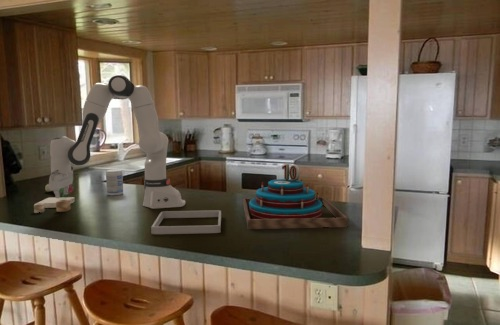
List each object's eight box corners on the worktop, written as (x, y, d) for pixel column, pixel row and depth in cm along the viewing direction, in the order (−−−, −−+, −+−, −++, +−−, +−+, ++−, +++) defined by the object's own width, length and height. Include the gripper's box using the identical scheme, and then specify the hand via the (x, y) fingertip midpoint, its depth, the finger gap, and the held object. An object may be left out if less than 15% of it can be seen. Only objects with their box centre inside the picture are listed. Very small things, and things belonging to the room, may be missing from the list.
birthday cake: (234, 214, 191) (234, 164, 188) (284, 203, 214) (284, 158, 211) (286, 230, 165) (286, 172, 162) (337, 215, 188) (338, 165, 185)
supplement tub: (121, 195, 235) (120, 171, 233) (105, 196, 233) (104, 171, 232) (124, 192, 244) (123, 169, 242) (108, 192, 243) (107, 169, 241)
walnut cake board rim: (323, 204, 211) (323, 196, 210) (347, 227, 168) (348, 218, 168) (243, 205, 208) (243, 198, 208) (247, 229, 166) (247, 219, 165)
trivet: (74, 201, 219) (74, 197, 219) (64, 207, 205) (64, 202, 205) (48, 201, 218) (48, 197, 218) (36, 207, 204) (36, 203, 204)
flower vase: (56, 202, 250) (82, 198, 227) (36, 200, 241) (61, 194, 218) (59, 184, 253) (85, 178, 230) (39, 181, 244) (64, 174, 221)
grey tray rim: (221, 216, 186) (221, 210, 186) (220, 232, 161) (220, 225, 160) (161, 217, 185) (161, 211, 184) (151, 234, 159) (150, 227, 158)
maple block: (44, 210, 199) (44, 202, 199) (43, 212, 195) (42, 204, 195) (35, 211, 198) (35, 203, 197) (34, 213, 194) (33, 205, 194)
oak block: (70, 209, 202) (70, 199, 201) (66, 211, 197) (66, 201, 196) (60, 209, 202) (60, 199, 201) (56, 211, 197) (56, 202, 196)
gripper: (58, 172, 187) (59, 200, 188) (74, 166, 207) (75, 192, 209) (44, 171, 186) (46, 200, 188) (62, 166, 207) (63, 192, 208)
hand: (61, 196), depth 199 cm, fingers open, 8 cm apart
